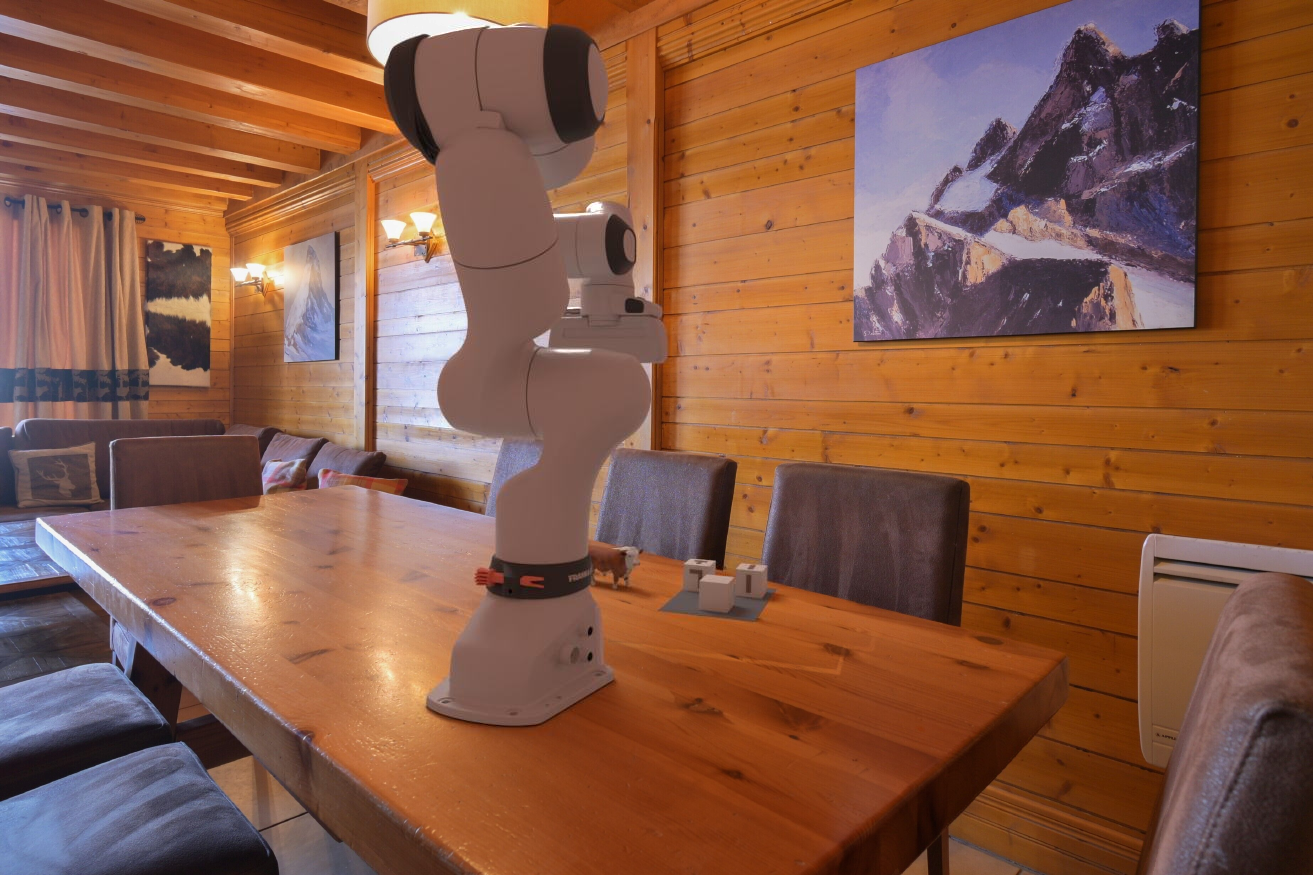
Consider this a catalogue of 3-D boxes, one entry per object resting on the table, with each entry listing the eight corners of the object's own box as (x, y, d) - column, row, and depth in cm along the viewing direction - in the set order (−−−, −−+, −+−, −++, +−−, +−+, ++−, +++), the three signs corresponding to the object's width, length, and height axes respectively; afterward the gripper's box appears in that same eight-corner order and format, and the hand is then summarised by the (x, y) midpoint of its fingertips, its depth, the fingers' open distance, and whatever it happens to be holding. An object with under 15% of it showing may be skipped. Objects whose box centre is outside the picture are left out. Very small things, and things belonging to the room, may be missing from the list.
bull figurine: (634, 598, 122) (635, 550, 121) (574, 585, 130) (575, 539, 129) (650, 593, 125) (651, 545, 125) (591, 580, 133) (592, 535, 133)
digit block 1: (761, 598, 121) (762, 570, 120) (734, 595, 122) (735, 568, 122) (766, 591, 125) (767, 564, 125) (740, 589, 127) (741, 562, 126)
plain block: (727, 612, 112) (727, 583, 112) (698, 609, 114) (699, 580, 114) (733, 605, 117) (734, 577, 116) (706, 602, 118) (706, 574, 118)
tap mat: (754, 625, 108) (754, 621, 108) (657, 614, 113) (657, 610, 113) (776, 591, 127) (776, 588, 127) (692, 583, 132) (692, 580, 132)
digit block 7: (708, 593, 124) (709, 565, 123) (682, 590, 125) (683, 563, 125) (715, 586, 128) (715, 560, 128) (690, 583, 129) (690, 557, 129)
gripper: (541, 305, 121) (540, 389, 122) (659, 302, 115) (658, 391, 115) (558, 310, 127) (557, 390, 128) (671, 307, 121) (670, 392, 121)
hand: (606, 391), depth 122 cm, fingers closed
